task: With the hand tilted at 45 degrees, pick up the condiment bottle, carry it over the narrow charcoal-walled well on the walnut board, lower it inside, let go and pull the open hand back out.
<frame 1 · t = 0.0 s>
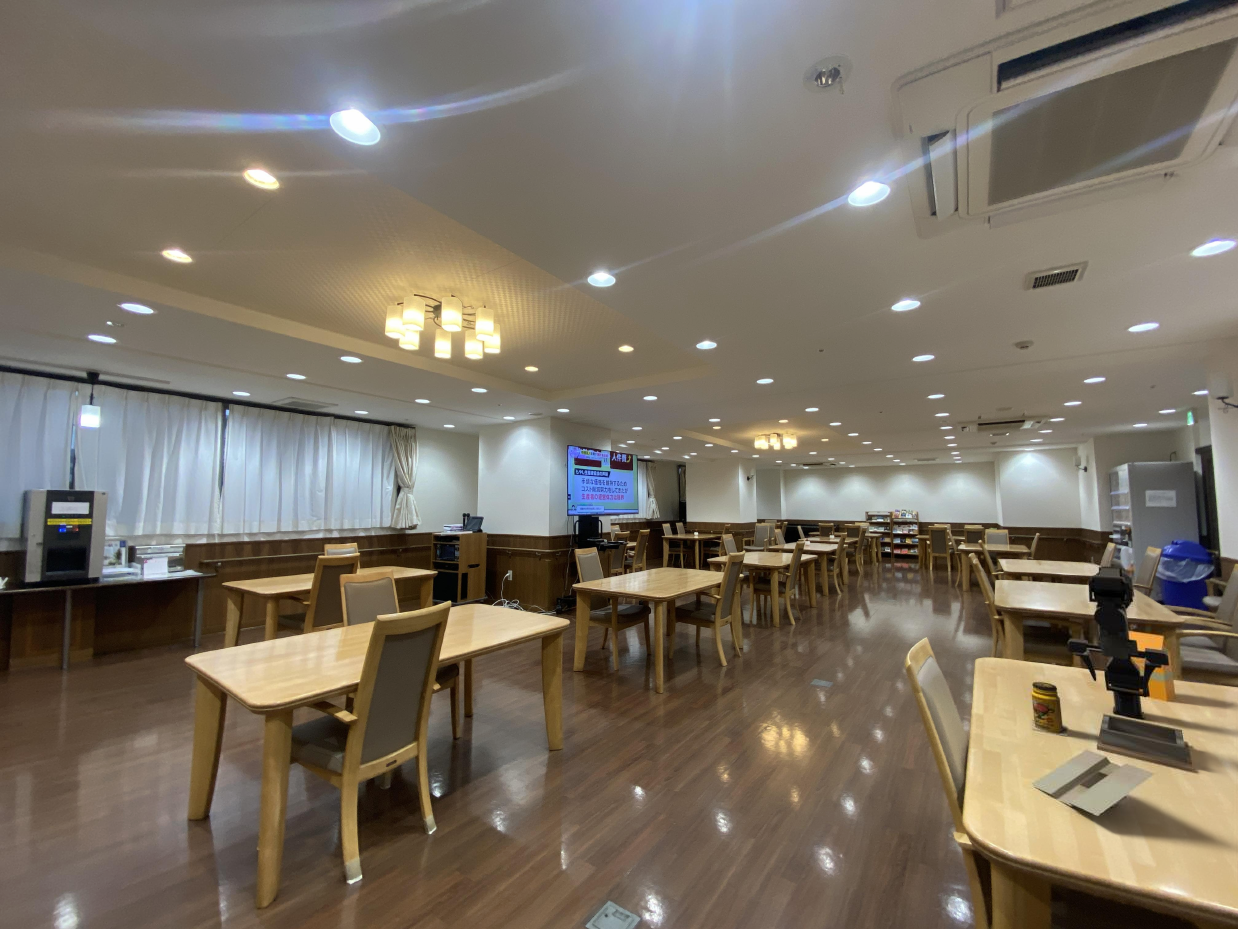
hand: (1119, 685, 129), 15 cm above the table, tool pointing down, fingers open, 9 cm apart
grey slotted panel: (1092, 806, 101), on the table
orange juice: (1152, 696, 162), on the table
well caddy: (1143, 747, 126), on the table
condiment: (1049, 729, 137), on the table
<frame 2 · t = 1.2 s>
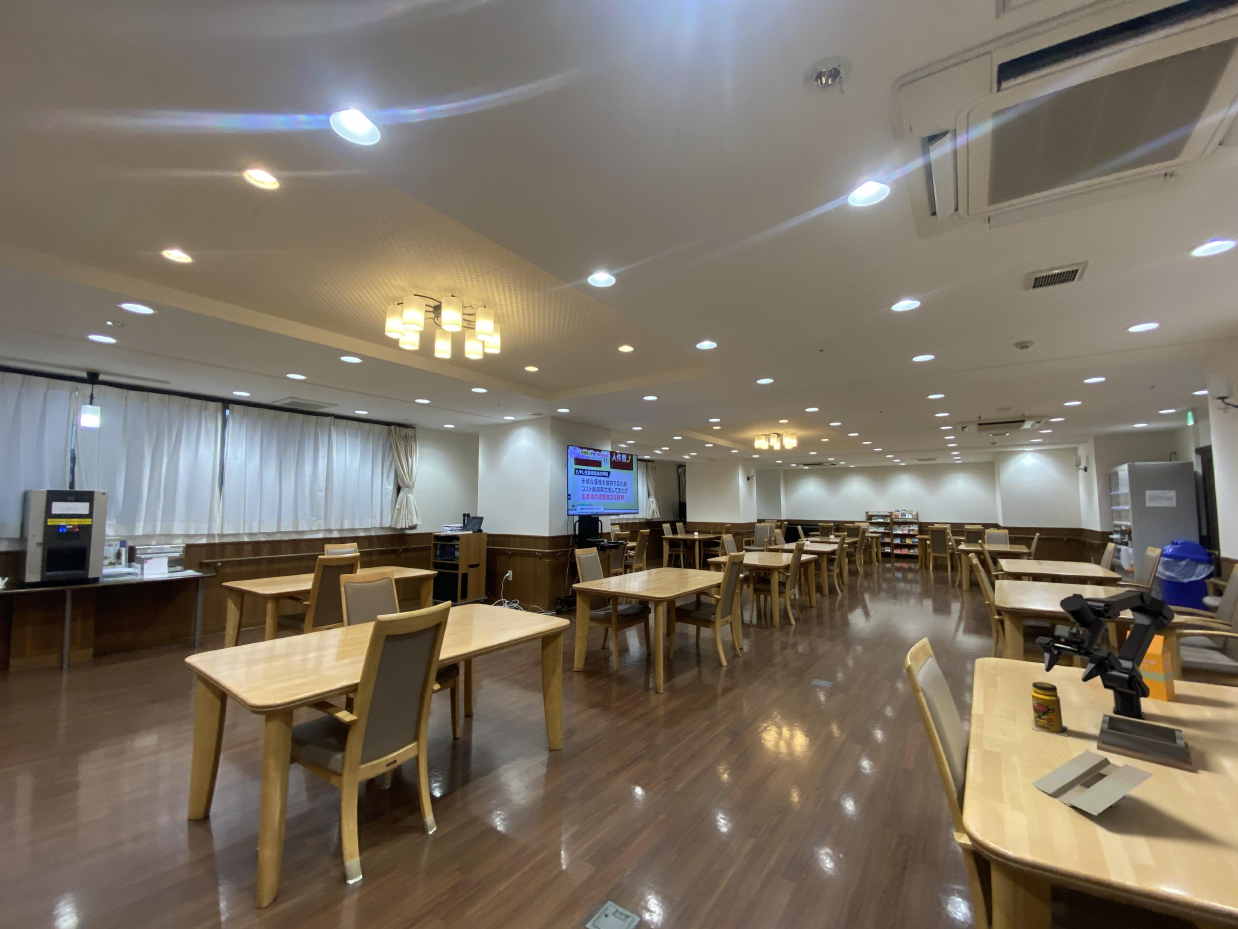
hand: (1064, 676, 141), 13 cm above the table, tool tilted 45°, fingers open, 9 cm apart
nothing on the table moved.
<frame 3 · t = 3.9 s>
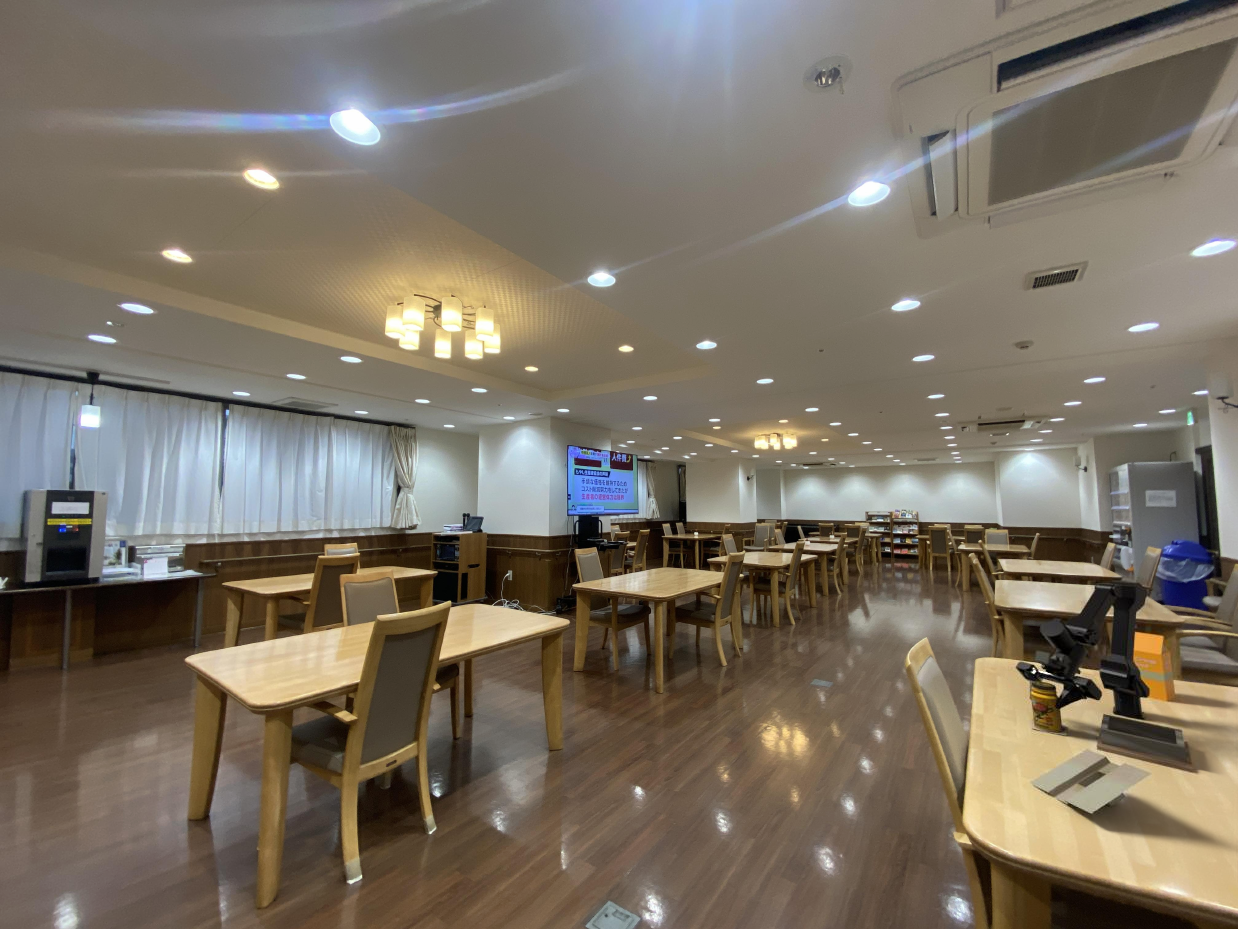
hand: (1043, 703, 138), 7 cm above the table, tool tilted 45°, fingers closed on condiment, 6 cm apart
condiment: (1048, 728, 138), on the table, touching gripper
everything else where it was.
when the fingers open (9 cm above the table, at t = 8.4 s): condiment drops 2 cm, resting on well caddy.
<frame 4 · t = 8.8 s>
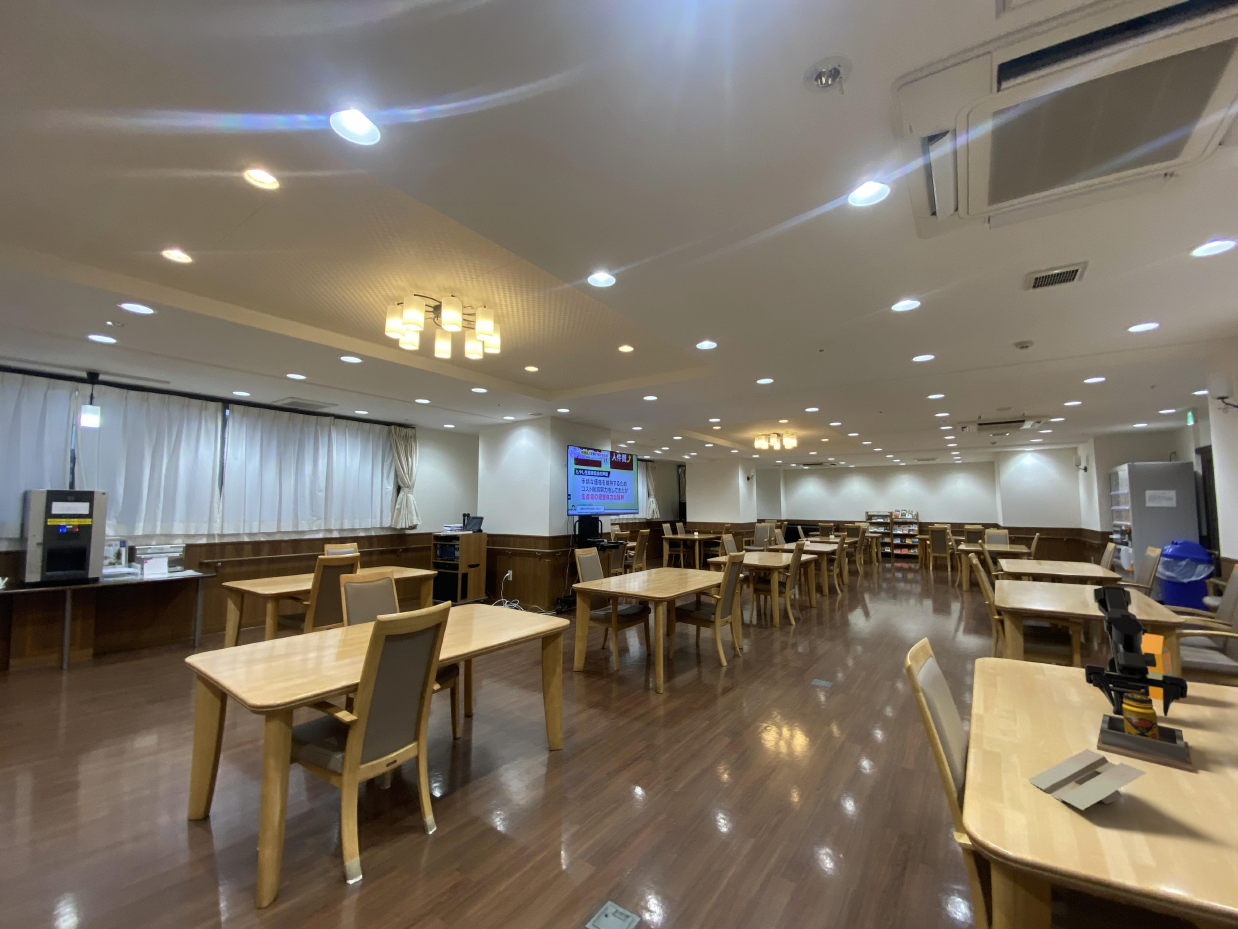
hand: (1139, 710, 126), 9 cm above the table, tool tilted 45°, fingers open, 9 cm apart
condiment: (1140, 744, 126), point 1 cm above the table, touching well caddy
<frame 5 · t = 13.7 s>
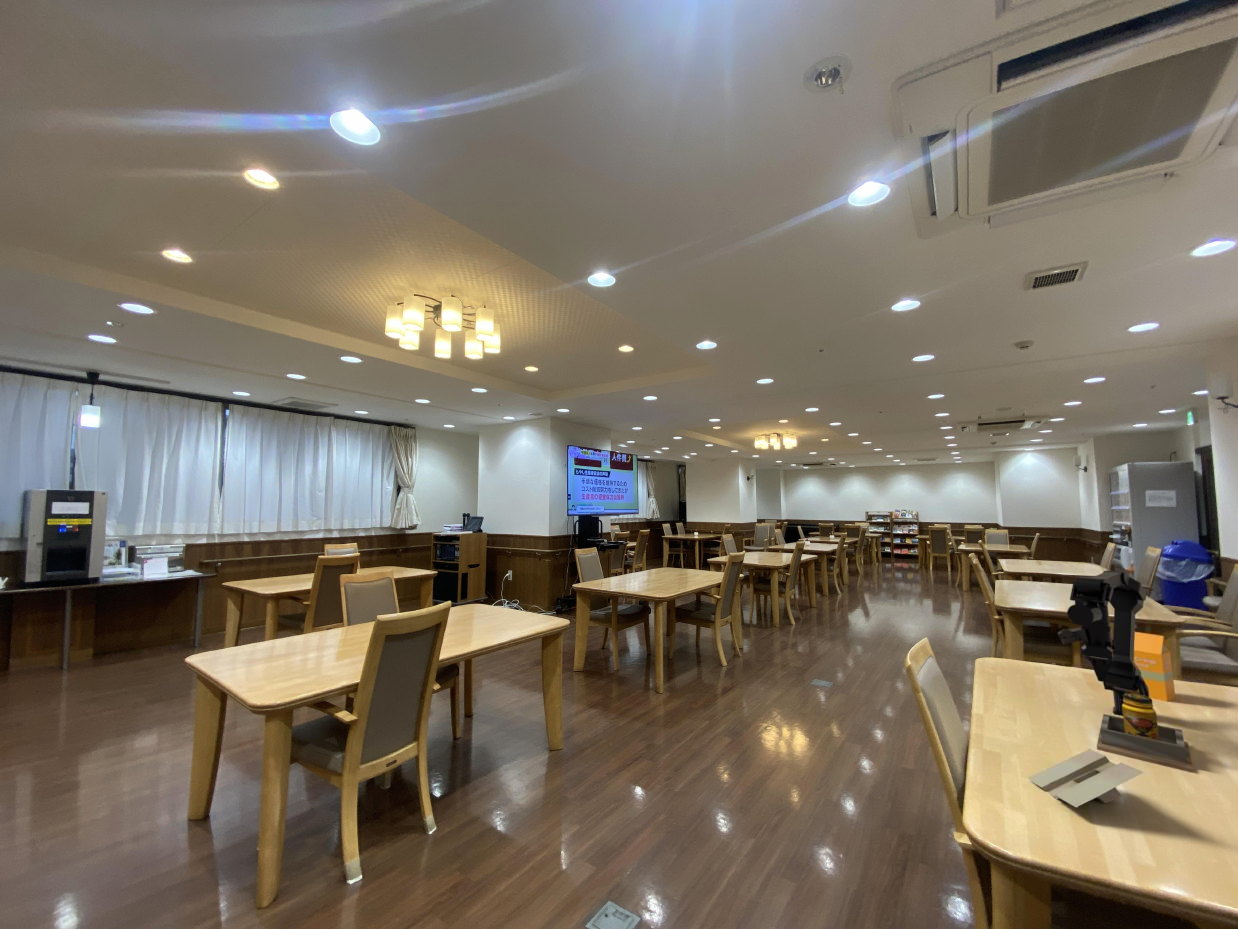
hand: (1101, 677, 140), 13 cm above the table, tool pointing down, fingers open, 9 cm apart
at the end: condiment inside the target area on the well caddy (0.4 cm from its centre), point 0.6 cm above the well caddy's base; condiment tilted 0°; the gripper is holding nothing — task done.
